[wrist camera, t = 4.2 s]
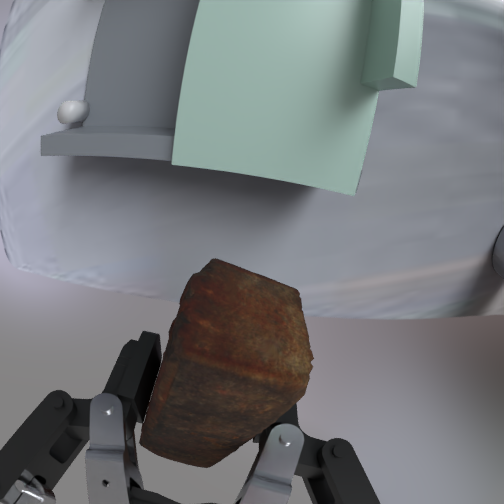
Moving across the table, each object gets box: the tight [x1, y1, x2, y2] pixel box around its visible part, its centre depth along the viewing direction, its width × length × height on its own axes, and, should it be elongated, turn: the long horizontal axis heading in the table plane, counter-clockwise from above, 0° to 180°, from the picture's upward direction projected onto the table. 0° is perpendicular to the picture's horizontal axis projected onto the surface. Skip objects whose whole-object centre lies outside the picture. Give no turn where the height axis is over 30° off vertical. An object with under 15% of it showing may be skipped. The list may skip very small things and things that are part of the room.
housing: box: [41, 0, 362, 193], centre depth 13 cm, size 24×21×7 cm
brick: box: [139, 258, 314, 468], centre depth 10 cm, size 11×4×5 cm, turn 157°
